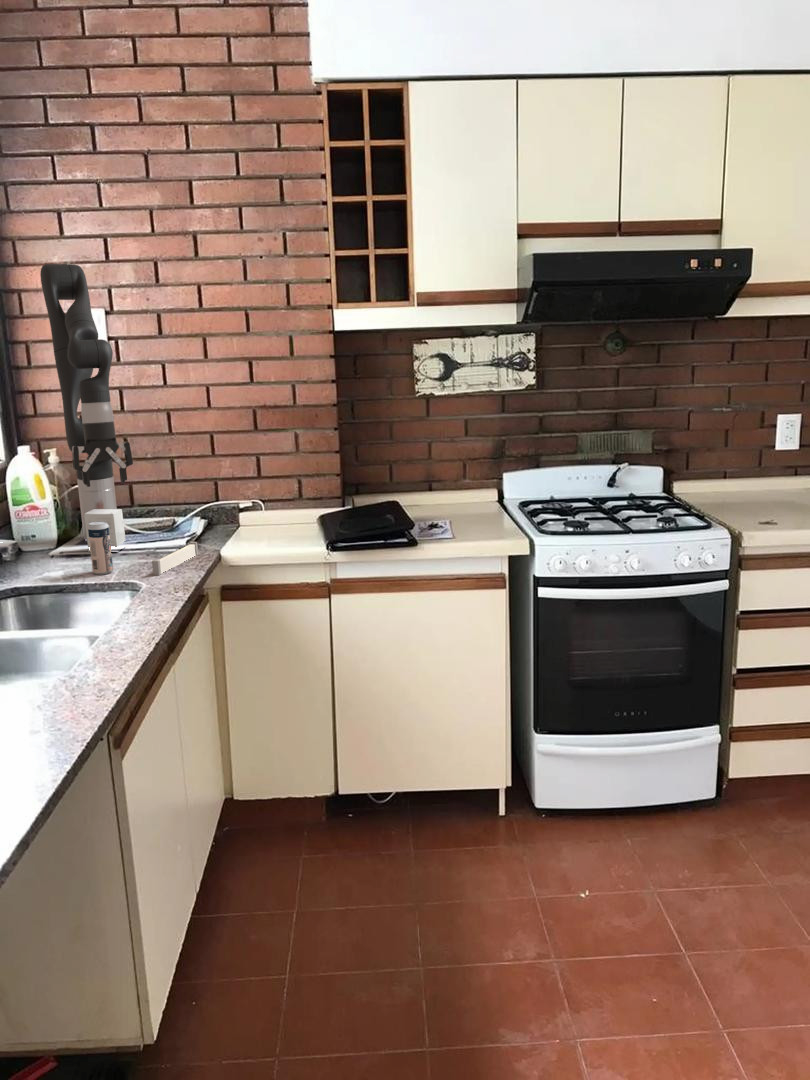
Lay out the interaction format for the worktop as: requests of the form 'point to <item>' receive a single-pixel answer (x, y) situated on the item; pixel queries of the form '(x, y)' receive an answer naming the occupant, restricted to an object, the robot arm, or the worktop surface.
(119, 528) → the small box
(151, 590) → the worktop surface
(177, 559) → the rail
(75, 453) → the robot arm
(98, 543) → the beige blue canister
